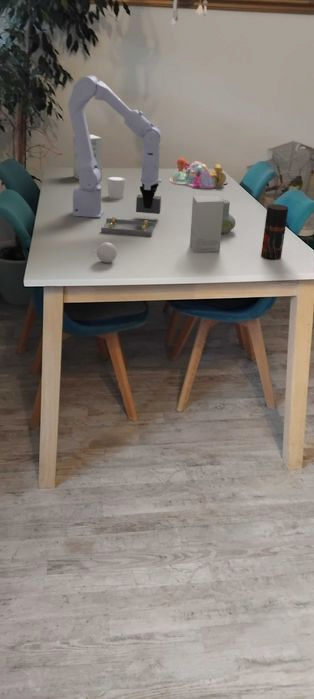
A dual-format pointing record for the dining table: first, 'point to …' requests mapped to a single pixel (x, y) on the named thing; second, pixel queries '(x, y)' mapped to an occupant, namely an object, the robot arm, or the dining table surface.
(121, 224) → the tray
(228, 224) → the air freshener
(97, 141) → the supplement box
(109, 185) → the white tapered cup
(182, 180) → the candy landscape model
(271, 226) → the deodorant
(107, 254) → the white sphere
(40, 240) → the dining table surface
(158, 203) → the block
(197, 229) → the skincare box
